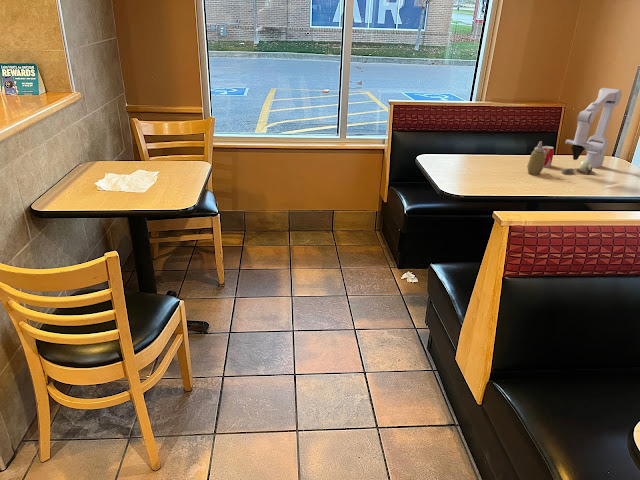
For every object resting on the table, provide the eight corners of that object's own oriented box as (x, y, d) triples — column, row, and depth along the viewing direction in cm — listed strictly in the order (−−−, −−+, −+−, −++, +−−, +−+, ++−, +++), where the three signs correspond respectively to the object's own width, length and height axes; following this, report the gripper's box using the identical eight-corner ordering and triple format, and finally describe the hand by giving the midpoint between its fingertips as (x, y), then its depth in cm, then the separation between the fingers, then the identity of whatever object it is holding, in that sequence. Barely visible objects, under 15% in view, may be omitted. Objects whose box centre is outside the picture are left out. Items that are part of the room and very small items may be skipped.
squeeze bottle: (541, 172, 261) (549, 140, 253) (541, 176, 255) (548, 144, 247) (526, 170, 264) (533, 138, 256) (525, 174, 258) (532, 142, 250)
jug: (576, 170, 261) (579, 160, 258) (583, 170, 262) (585, 159, 259) (585, 174, 255) (588, 163, 253) (591, 173, 257) (594, 162, 254)
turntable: (582, 169, 266) (584, 161, 265) (599, 175, 256) (602, 168, 254) (554, 172, 261) (555, 164, 259) (570, 179, 251) (572, 171, 249)
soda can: (551, 169, 266) (556, 149, 261) (538, 169, 267) (542, 148, 262) (548, 166, 272) (553, 145, 267) (535, 165, 273) (540, 145, 268)
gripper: (564, 132, 250) (558, 157, 256) (590, 138, 238) (583, 163, 244) (572, 130, 253) (566, 155, 259) (598, 136, 242) (591, 162, 248)
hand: (575, 159), depth 252 cm, fingers closed
